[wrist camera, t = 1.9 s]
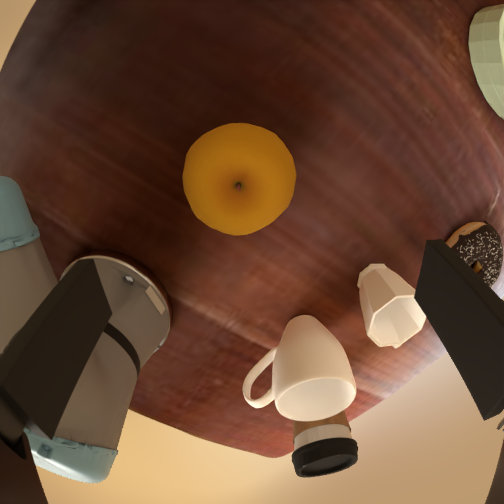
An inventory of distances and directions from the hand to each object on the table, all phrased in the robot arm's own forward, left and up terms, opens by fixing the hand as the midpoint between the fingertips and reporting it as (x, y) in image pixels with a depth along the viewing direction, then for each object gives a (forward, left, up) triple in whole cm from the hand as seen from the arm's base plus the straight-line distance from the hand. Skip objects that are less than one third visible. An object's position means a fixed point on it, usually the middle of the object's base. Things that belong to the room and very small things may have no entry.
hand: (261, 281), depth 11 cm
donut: (+26, -14, -19) cm, 35 cm away
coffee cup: (+5, -32, -19) cm, 37 cm away
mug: (+2, -21, -19) cm, 28 cm away
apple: (-1, 0, -19) cm, 19 cm away
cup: (+13, -16, -19) cm, 28 cm away
